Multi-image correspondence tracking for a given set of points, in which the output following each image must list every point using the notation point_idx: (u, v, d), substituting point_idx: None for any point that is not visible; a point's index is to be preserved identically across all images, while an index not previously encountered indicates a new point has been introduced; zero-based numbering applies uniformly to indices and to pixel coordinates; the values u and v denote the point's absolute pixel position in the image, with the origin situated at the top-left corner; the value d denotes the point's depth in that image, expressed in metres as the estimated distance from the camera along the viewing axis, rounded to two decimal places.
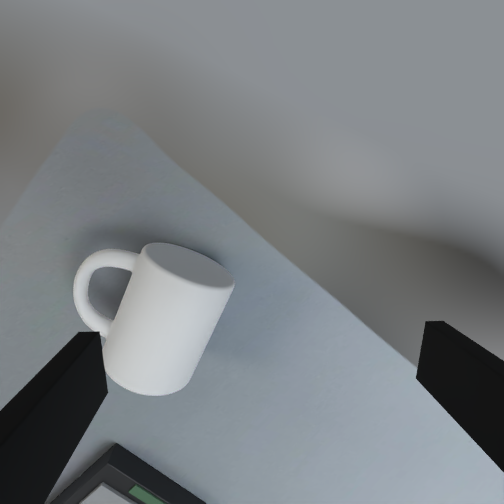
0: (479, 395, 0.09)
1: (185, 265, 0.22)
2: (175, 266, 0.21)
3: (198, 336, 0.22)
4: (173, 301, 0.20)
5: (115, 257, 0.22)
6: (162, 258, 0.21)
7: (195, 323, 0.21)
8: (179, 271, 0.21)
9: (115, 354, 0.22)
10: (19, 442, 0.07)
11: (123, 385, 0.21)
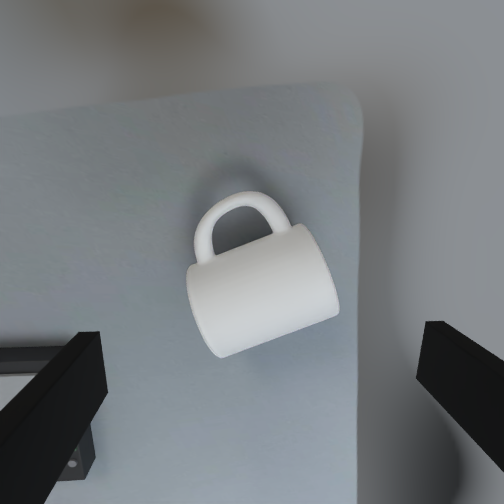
0: (479, 395, 0.09)
1: None
2: None
3: (287, 331, 0.21)
4: (310, 293, 0.20)
5: (278, 212, 0.21)
6: None
7: (300, 321, 0.21)
8: None
9: (214, 289, 0.20)
10: (19, 442, 0.07)
11: (199, 321, 0.20)
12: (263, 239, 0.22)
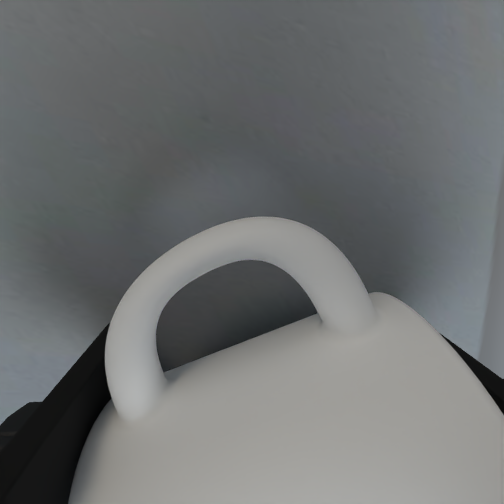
0: None
1: None
2: None
3: None
4: None
5: (346, 281, 0.07)
6: None
7: None
8: None
9: None
10: (71, 418, 0.07)
11: None
12: (299, 348, 0.08)
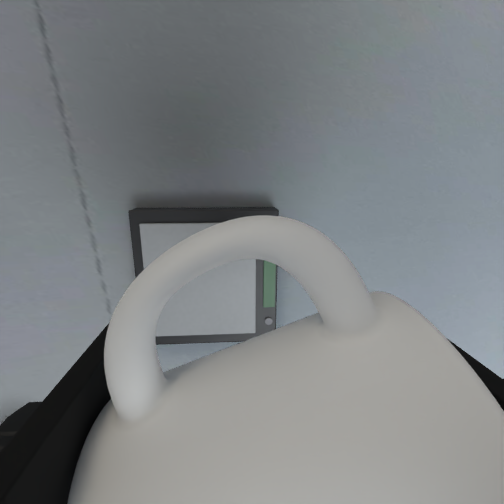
0: None
1: None
2: None
3: None
4: None
5: (346, 280, 0.07)
6: None
7: None
8: None
9: None
10: (72, 418, 0.07)
11: None
12: (299, 348, 0.08)
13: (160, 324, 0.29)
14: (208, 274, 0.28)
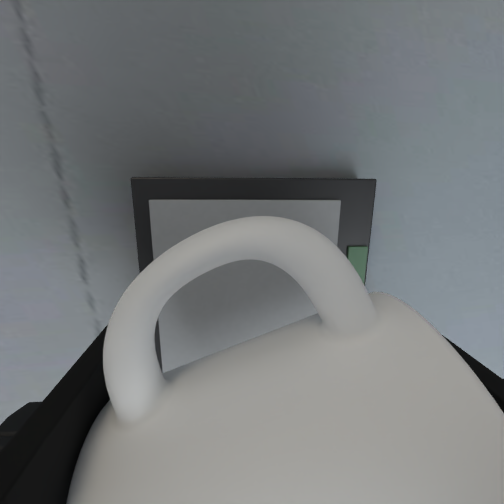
0: None
1: None
2: None
3: None
4: None
5: (346, 281, 0.07)
6: None
7: None
8: None
9: None
10: (72, 418, 0.07)
11: None
12: (299, 348, 0.08)
13: (180, 363, 0.18)
14: (259, 284, 0.17)
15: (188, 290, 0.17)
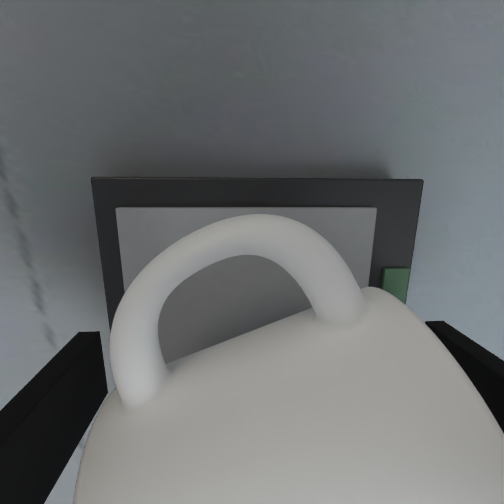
0: None
1: None
2: None
3: None
4: None
5: (337, 275, 0.08)
6: None
7: None
8: None
9: None
10: (19, 442, 0.07)
11: None
12: (294, 339, 0.08)
13: None
14: (266, 319, 0.13)
15: (172, 328, 0.13)
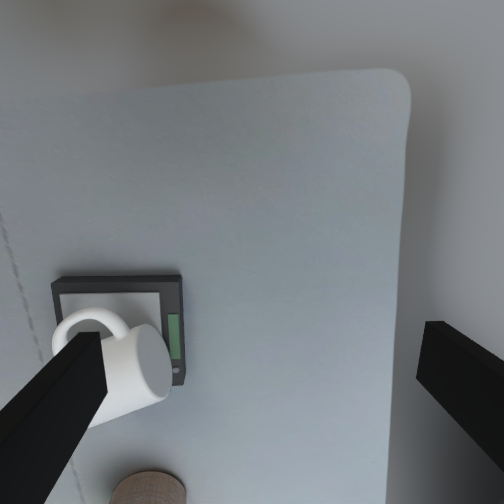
0: (479, 395, 0.09)
1: (152, 363, 0.29)
2: (146, 365, 0.28)
3: (120, 414, 0.28)
4: (127, 391, 0.26)
5: (114, 324, 0.28)
6: (143, 352, 0.28)
7: (127, 409, 0.27)
8: (146, 372, 0.27)
9: None
10: (19, 442, 0.07)
11: None
12: (107, 341, 0.29)
13: None
14: None
15: None
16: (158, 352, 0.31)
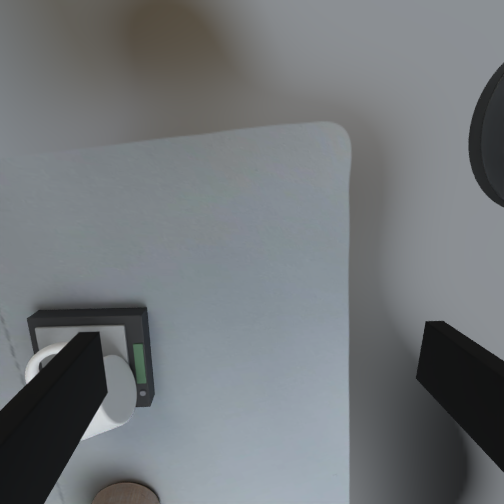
0: (479, 395, 0.09)
1: (113, 391, 0.33)
2: (107, 394, 0.32)
3: (85, 438, 0.32)
4: None
5: None
6: None
7: (89, 434, 0.31)
8: (106, 402, 0.31)
9: None
10: (19, 442, 0.07)
11: None
12: None
13: None
14: None
15: None
16: (122, 380, 0.35)
